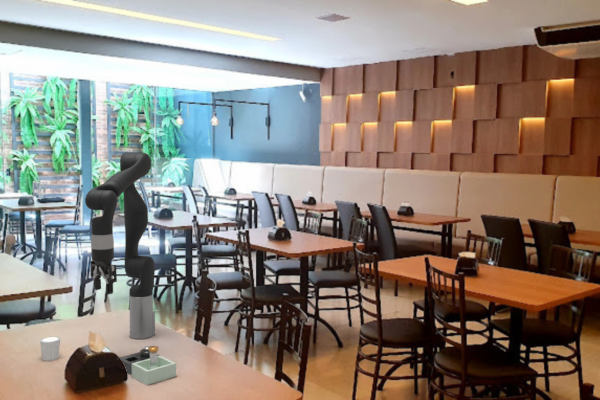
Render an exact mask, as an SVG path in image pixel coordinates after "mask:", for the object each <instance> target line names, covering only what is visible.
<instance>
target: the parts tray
mask: <svg viewBox="0 0 600 400" xmlns="http://www.w3.org/2000/svg"><path fill="white" fill-rule="evenodd" d="M157 361H158V367H157V368H154V369H150V359H146V360H142V361H139V362H135V363H132V375H131V378H134V379H135V380H137V381H138V382H141V383H143V385H146V386H149V385H151V384H155V383H159V382H162V381H165V380H168V379H172V378H175V377H177V362H175V361H172V360H170V359H168V358H166V357H164V356H162V355H160V356H157Z"/></svg>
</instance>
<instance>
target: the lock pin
mask: <svg viewBox="0 0 600 400" xmlns="http://www.w3.org/2000/svg"><path fill="white" fill-rule="evenodd" d="M148 347H149V352H150V369H154V368H157V367H158V361H157V354H158V351H159V346H157V345H151V346H148Z"/></svg>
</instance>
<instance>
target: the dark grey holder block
mask: <svg viewBox="0 0 600 400" xmlns="http://www.w3.org/2000/svg"><path fill="white" fill-rule="evenodd" d="M149 347H150V346H145V347H144V348H142V349H140V350H139V352H135V353H131V354H128V355H124V356H123V355H122V356H120V357H118V358H120V359H121V360H122V362H123V363H124V365H125V367H126V370H127V372H128V373H127V374H128V375H130V376H132V363H135V362H139V361H142V360H146V359H150V352H149ZM157 356H161V355H160V354H158V353H157Z"/></svg>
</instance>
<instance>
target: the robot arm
mask: <svg viewBox="0 0 600 400" xmlns="http://www.w3.org/2000/svg"><path fill="white" fill-rule="evenodd" d="M151 168H152V160H151V156H150V155H149V153H146V152H140V151H139V152H137V151H136V152H135V151H133V152H131V151H130V152H128V151H127V152H124V153H122V154H121V156H120V161H119V169H120V171H119V172H116V173H114V174H113V175H111V176H110V177H109V178H108V179H106V181H105V182H104V183H102V184H99V185H98V186H97V185H96V186H95V187H94V188H93V187H92V189H90V190H89V191H88V192H87V193H86V195H85V197H84V202H85V206H86V207H87V208H88V209H89V210H91V211H103V213H102V215H101V216H96V217H93V218H92V219H91V222H90V223H91V239H90V245H91V246H90V249H91V250H90V251H91V260H90V269H89V270H90V274H89V276H90V277H91V278H92V279H93V282H94V283H93V286H94V287H93V288H94V290H95V291H98V290H101V289H102V279H104V281H105V285H106V286H105V287H106V288H105V289H106V290H105V291H106V292H105V293H106V295H113V293H114V283H117V282H118V278H117V277H118V276H117V265H115V264H111V262H112V261H113V260H114V259H115V246H114V245H115V243H114V241H115V240H114V235H113V234H114V233H113V232H114V230H113V229H114V227H113V226H114V225H113V223H114V222H113V221H114V217H115V212H116V208H117V204H118V199H119V197H120V196H121V195H122V194H123V219H124V221H123V222H124V233H125V237H124V239H125V244H124V245H125V249H124V250H125V251H124V272H125V275H126V276H127V277H128V278H131V279H139V284H138V285H134V286H132V287H130V288H129V290H128V291H129V293H128V294H129V295H128V296H129V337H130V338H131V339H135V340H143V339H149V338H151V337H153V336H155V335H156V313H155V311H154V302H153V301H154V295H153V294H154V286H155V272H156V265H155V260H154V259H153V257H152V256H149V255H148V256H147V255H139V245H140V241H141V238H142V237H143V235H144V234H145V231H146V230H147V227H148V225H149V210H148V206H147V203H146V202H145V200H144V199H143V197H142V195H141V194H140V193H139V191H138V190H137V189H138V188H136V185H135V183H136V182H137V181H138V180H141V178H143V177H144V176H146V175H147V174H149V173H150V171H151ZM101 278H102V279H101Z"/></svg>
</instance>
